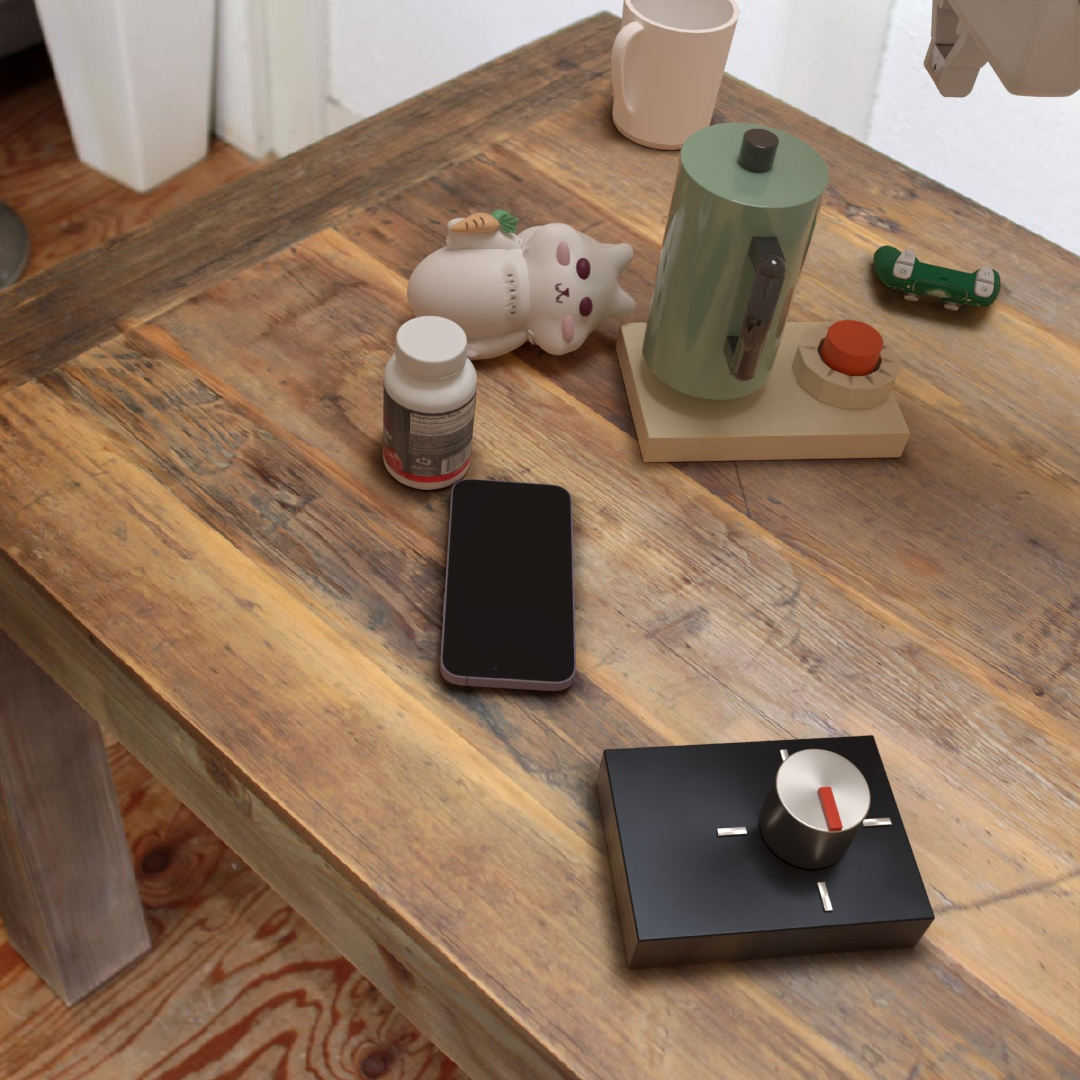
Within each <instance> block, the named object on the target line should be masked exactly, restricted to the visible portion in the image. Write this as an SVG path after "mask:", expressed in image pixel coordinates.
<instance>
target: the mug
mask: <svg viewBox="0 0 1080 1080" xmlns="http://www.w3.org/2000/svg"><path fill="white" fill-rule="evenodd" d="M740 12H741V11H740V8H739V5H738V2H736V0H623V5H622V13H621V24H620V30H619V31H618V33H617V34H616V36H615V39H614V42H613V44H612V48H611V49H612V50H611V56H610V57H611V58H610V71H611V72H610V73H611V74H610V76H611V85H612V92H613V103H612V114H611V115H612V116H611V117H612V121H613V124H614V126H615V127H616V129H617V131H618V132H619V133H620V134H621V135H622V136H624V137H625V138H626V139H628V140H630V141H631V142H633V143H636V144H638V145H640V146H643V147H646V148H651V149H655V150H665V151H677V150H681V148H682V146H683V144H684V142H685V141H686V139H687V138H688V137H689V136H690V135H692V134H693V133H695V132H696V131H698V130H700V129H702V128H705V127H708V126H711V122H712V118H713V114H714V110H715V106H716V102H717V99H718V95H719V91H720V87H721V84H722V80H723V76H724V73H725V69H726V65H727V61H728V58H729V54H730V50H731V47H732V44H733V43H732V42H733V39H734V36H735V31H736V29H737V23H738V20H739V17H740Z"/></svg>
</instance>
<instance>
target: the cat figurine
mask: <svg viewBox="0 0 1080 1080" xmlns="http://www.w3.org/2000/svg"><path fill="white" fill-rule="evenodd" d="M519 220H520V219H519V218H518V217H517V215H511V212H508V211H507V210H503V209H499V208H498V209H494V210H493V211H492V212H491V213H490V214H489V213H487V212H476V213H473V214H471V215H469V216H467V217H456V218H453V219H451V220H449V221H448V222H447V224H446V230H447V235H446V238H445V244H446V246H443V247H441V248H439V249H437V250H435V251H433V252H432V253H430V254H429V255H427V256H426V257H425V258H424V259H422V260H421V261H420V262H419V263H418V264H417V266H416V267H415V268H414V270H413V271H412V273H411V275H410V277H409V279H408V283H407V286H406V297H407V303H408V305H409V308H410V310H411V312H412V313H413V315H414V316H415V318H418V317H422V316H438V317H442V318H446V319H449V320H451V321H453V322H455V323H456V324H457V325H459V326H460V327H461V328H462V329H463V331H464V332H465V334H466V338H467V358H468V359H469V360H470V361H481V360H491V359H495V358H497V357H500V356H503V355H506V354H508V353H510V352H513V351H514V350H516V349H518V348H519V347H521V346H523V345H524V344H525V343H526V342H528V343H531V345H532V346H534V345H535V346H539V347H540V348H541V349H542V350H543V351H545V352H546V353H548V354H550V355H553V356H562V355H565V354H569V353H571V352H574V351H576V350H578V349H579V348H580V347H581V346H582V345H583V344H584V343H585V341H586V340H587V338H588V336H589V335H590V334H592V332H594V331H595V330H596V329H598V328H599V326H600V325H601V324H603V323H604V322H605V321H606V320H608V319H611V318H618V319H620V318H622V319H623V318H628V317H631V316H632V315H633V314H634V313H635V311H636V308H637V304H636V301H635V300H634V298H633V297H632V296H631V295H630V294H628V293H627V292H626V291H625V290H623V288H622V287H621V286H620V284H619V280H620V278H621V275H622V274H623V273H624V271H625V270H626V269H627V268H628V267H629V265H631V263H632V261H633V259H634V255H635V253H634V249H633V247H632V246H631V245H630V244H629V243H627V242H621V243H608V242H607V243H605V242H600V241H598V240H596V239H595V238H594V237H592V236H590V235H588V234H587V233H583V232H582V231H579V230H576V229H575V228H574V227H572V226H571V225H569V224H567V223H562V222H551V223H546V224H544V225H536V226H531V227H528V228H525V229H524V230H522V231H521V232H519V233H518V234H516V233H517V226H518V223H519Z"/></svg>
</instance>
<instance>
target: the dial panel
mask: <svg viewBox="0 0 1080 1080" xmlns="http://www.w3.org/2000/svg"><path fill="white" fill-rule="evenodd" d="M806 749H822V750H827V751H831V752H834V753H836V754H838V755H840V756H842V757H844V758H846V759H847V760H849V761H850V762H851V763H852V764H853V765H855V766H856V767H857V768H858V770H859V771H860V772H861V773H862V775H863V776H864V778H865V780H866V782H867V784H868V787H869V791H870V798H871V801H870V808H869V811H868V813H867V815H866V817H865V819H864V821H863V823H862V824H861V826H860V828H859V830H858V832H857V834H856V835H855V837H854V839H853V841H852V843H851V845H850V846H849V848H848V850H847V852H846V853H845V855H844V856H843V857H842V858H841V859H840V860H839V861H838V862H836V863H835V864H833V865H831V866H828V867H825V868H819V869H807V868H801V867H798V866H795V865H792V864H790V863H788V862H786V861H785V860H783V859H781V858H780V857H779V856H778V855H776V854H775V853H774V852H773V851H772V850H771V848H770V847H769V846H768V845H767V843H766V841H765V840H764V837H763V835H762V832H761V829H760V823H759V817H760V811H761V808H762V806H763V803H764V801H765V799H766V796H767V794H768V792H769V790H770V787H771V785H772V783H773V780H774V778H775V776H776V773H777V771H778V769H779V767H780V765H781V764H782V762H783V761H784V760H785V759H786V758H787V757H789V756H790V755H792V754H794V753H796V752H798V751H801V750H806ZM595 784H596V791H597V796H598V802H599V808H600V813H601V819H602V825H603V829H604V836H605V842H606V847H607V854H608V859H609V865H610V870H611V878H612V882H613V888H614V894H615V899H616V906H617V911H618V915H619V923H620V929H621V934H622V940H623V945H624V952H625V956H626V963H627V968H628V969H629V970H633V969H646V968H647V969H648V968H658V967H659V968H660V967H670V966H683V965H696V964H708V963H720V962H721V963H722V962H733V961H735V962H736V961H746V960H758V959H772V958H782V957H783V958H785V957H796V956H807V955H808V956H809V955H821V954H833V953H845V952H846V953H847V952H859V951H872V950H883V949H895V948H896V949H897V948H908V947H909V948H910V947H916V946H917V945H918V943H920V940H921V939H922V938H923V936H924V935H925V934H926V932H927V931H928V929H929V928H930V927H931V925H932V924H933V922H934V921H935V919H936V916H935V913H934V910H933V907H932V904H931V902H930V898H929V895H928V893H927V889H926V887H925V884H924V883H925V882H924V881H923V878H922V875H921V871H920V869H919V865H918V863H917V860H916V857H915V854H914V851H913V848H912V845H911V842H910V839H909V836H908V833H907V830H906V827H905V825H904V822H903V818H902V816H901V812H900V809H899V807H898V804H897V801H896V798H895V795H894V792H893V789H892V786H891V783H890V780H889V776H888V775H887V771H886V768H885V765H884V761H883V759H882V756H881V754H880V751H879V748H878V744H877V741H876V739H875V736H874V735H873V734H869V735H850V736H848V735H847V736H831V737H830V736H828V737H815V738H814V737H812V738H792V739H773V740H758V741H757V740H755V741H737V742H720V743H717V742H716V743H699V744H683V745H680V744H679V745H665V746H663V745H662V746H646V747H628V748H627V747H626V748H610V749H603V752H602V755H601V759H600V764H599V768H598V772H597V776H596V780H595Z"/></svg>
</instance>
